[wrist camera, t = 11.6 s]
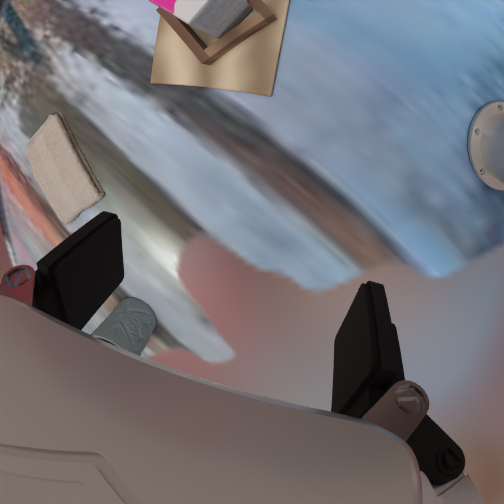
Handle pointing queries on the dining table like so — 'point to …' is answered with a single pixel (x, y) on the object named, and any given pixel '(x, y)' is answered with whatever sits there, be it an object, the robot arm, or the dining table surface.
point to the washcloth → (62, 169)
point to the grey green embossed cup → (128, 325)
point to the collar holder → (222, 51)
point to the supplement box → (208, 13)
